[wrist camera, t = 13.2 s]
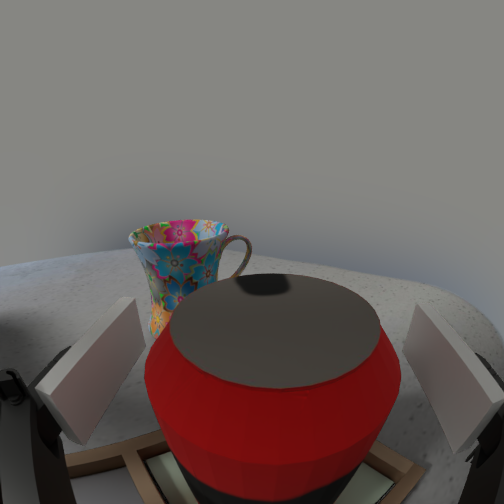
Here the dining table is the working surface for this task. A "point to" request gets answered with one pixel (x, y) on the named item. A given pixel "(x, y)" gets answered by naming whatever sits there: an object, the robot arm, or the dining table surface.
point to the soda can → (271, 388)
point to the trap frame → (178, 492)
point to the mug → (180, 261)
